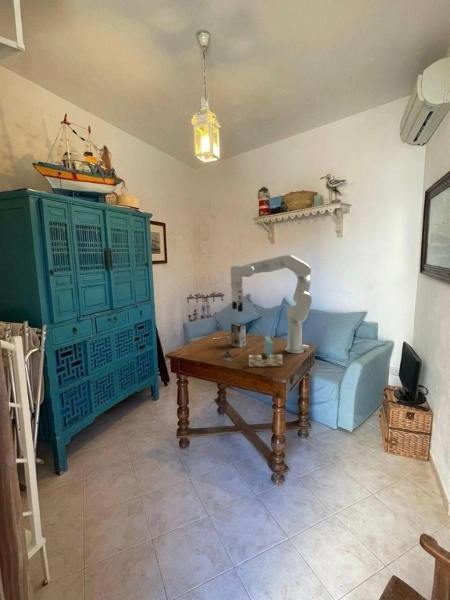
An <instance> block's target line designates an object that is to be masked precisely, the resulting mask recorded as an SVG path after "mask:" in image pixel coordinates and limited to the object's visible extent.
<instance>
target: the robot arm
mask: <svg viewBox="0 0 450 600" xmlns="http://www.w3.org/2000/svg"><path fill="white" fill-rule="evenodd" d="M283 269H288V270H290V271H292V272H293V273H294V275H295V276H296V278H297V283H296V287H295V289H294V293H293V296H292V300H293V302H294V303H295V305H294V304H293V305H291V306H289V307H288V309H287V311H286V312H287V313H286V316H287V346H286V347H285V348H284V349H285V352H287V353H291V354H301V353H304V351H305V349H309V347H310V346H309V344H308V345H306V344H303V322H305V321H306V320H307V317H308V315H309V312H310V309H311V306H312V301H313V299H312V295H311V294H310V293H309V291H310V287H311V284H312V283H311V282H312V281H311V280H312V279H311V273H312V269H311V266H309V264H308V263H306V262H304V261H302V260H301V259H299V258H297V257H295V256H294V255H291V254H283V255H280V256H275V257H271V258H268V259H263V260H260V261H256V262H251V263H247V264H244V265H243V266H241V265H232V266H231V267H230V287H231V305H232V310H237V312H238V313H240V312H243V310H244V307H243V305H244V289H243V277H246V278H250V277H252V276H254V274H255V275H256V274H259V273H271V272H275V271H279V270H283Z"/></svg>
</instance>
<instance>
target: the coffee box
mask: <svg viewBox="0 0 450 600" xmlns="http://www.w3.org/2000/svg"><path fill="white" fill-rule="evenodd" d="M230 328H231V329H230V330H231V331H230V332H231V333H230V334H231V338H230V339H231V346H233V347H236V348H243V347H246V346H247V345H246V344H247V343H246V342H247V341H246V337H247V335H246V333H247V332H246V331H247V330H246V328H247V326H246V324H244V323H238V322H236V323H231V326H230Z"/></svg>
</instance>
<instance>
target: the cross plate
mask: <svg viewBox="0 0 450 600" xmlns="http://www.w3.org/2000/svg"><path fill="white" fill-rule="evenodd" d="M269 355H274V342H273V340H272V338H271V337H270V336H264V356H265V357H266V359H269Z"/></svg>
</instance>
